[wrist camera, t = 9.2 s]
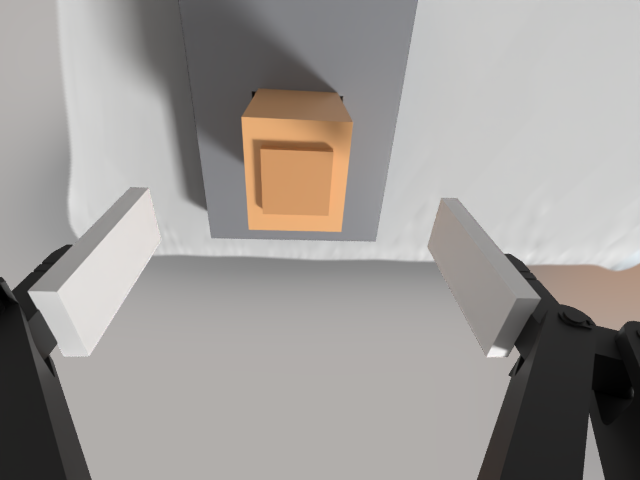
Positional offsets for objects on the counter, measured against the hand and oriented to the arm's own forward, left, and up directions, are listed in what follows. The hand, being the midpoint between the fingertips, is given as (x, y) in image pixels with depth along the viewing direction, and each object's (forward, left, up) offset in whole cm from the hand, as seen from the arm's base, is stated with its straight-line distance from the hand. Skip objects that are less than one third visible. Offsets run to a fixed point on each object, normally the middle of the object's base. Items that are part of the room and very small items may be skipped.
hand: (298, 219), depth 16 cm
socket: (0, 0, -18) cm, 18 cm away
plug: (0, 0, -17) cm, 17 cm away
